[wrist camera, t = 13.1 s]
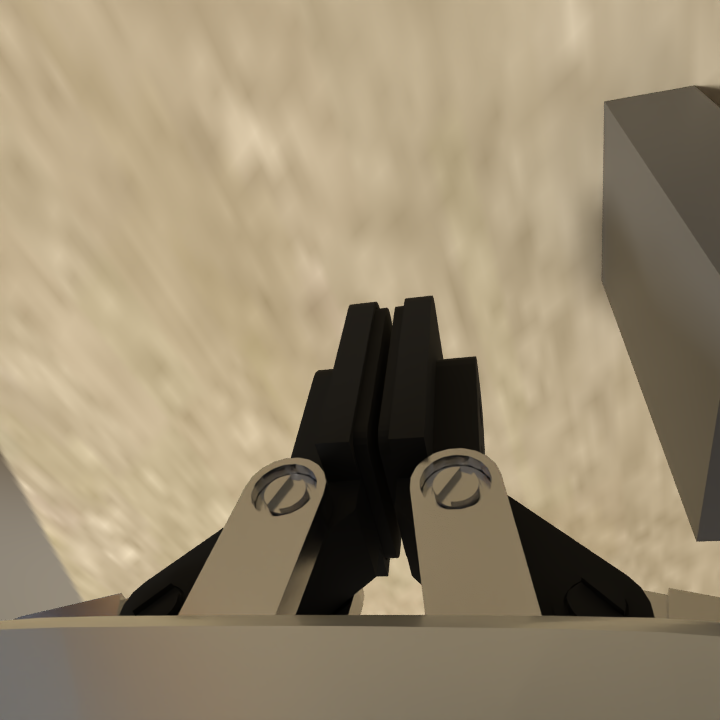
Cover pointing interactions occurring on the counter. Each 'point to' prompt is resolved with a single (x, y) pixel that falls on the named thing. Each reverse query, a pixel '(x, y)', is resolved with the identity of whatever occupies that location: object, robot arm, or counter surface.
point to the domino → (669, 276)
